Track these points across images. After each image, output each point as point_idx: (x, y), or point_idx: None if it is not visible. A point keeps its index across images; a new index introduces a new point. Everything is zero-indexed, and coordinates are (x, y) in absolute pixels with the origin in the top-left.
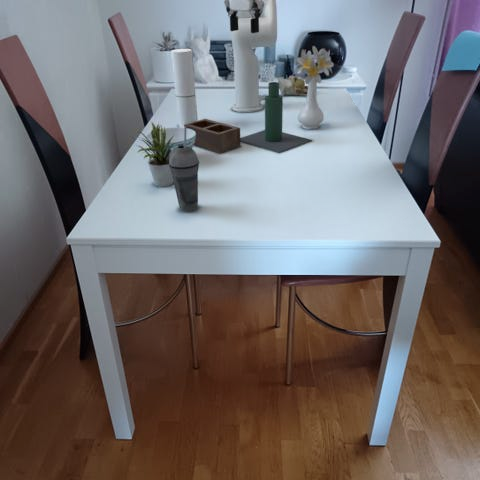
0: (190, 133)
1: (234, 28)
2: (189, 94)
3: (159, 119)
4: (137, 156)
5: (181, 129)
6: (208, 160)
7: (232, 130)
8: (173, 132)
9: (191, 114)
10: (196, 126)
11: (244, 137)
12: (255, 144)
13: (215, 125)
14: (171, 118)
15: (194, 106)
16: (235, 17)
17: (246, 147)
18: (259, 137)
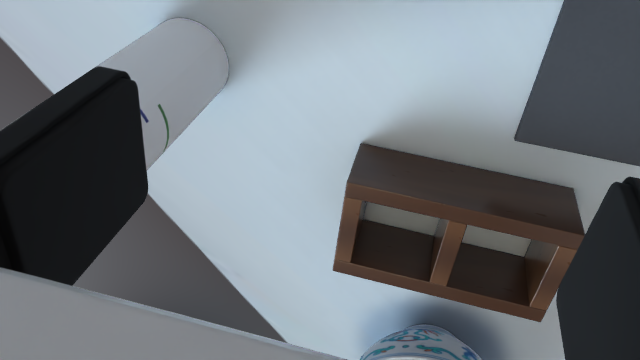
0: (446, 356)
1: (131, 168)
2: (162, 147)
3: (21, 44)
4: (314, 349)
5: (402, 355)
6: (533, 324)
7: (567, 268)
8: (378, 353)
9: (204, 102)
10: (394, 275)
11: (537, 104)
12: (637, 161)
13: (458, 244)
14: (39, 6)
15: (189, 95)
16: (20, 241)
17: (604, 188)
18: (613, 73)
